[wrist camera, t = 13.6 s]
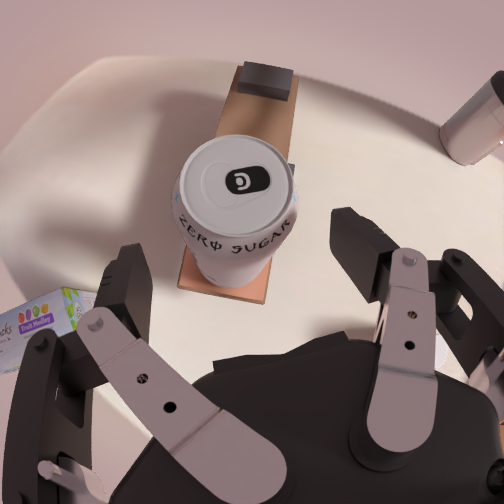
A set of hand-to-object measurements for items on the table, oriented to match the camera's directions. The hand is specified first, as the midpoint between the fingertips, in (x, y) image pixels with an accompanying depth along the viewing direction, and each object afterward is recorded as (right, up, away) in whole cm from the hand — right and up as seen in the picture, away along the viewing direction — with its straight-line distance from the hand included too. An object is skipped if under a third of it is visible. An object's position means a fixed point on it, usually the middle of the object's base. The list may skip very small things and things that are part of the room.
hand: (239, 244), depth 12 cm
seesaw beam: (0, +9, +19) cm, 21 cm away
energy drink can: (-1, -1, +15) cm, 15 cm away
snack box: (-24, -12, +20) cm, 34 cm away
